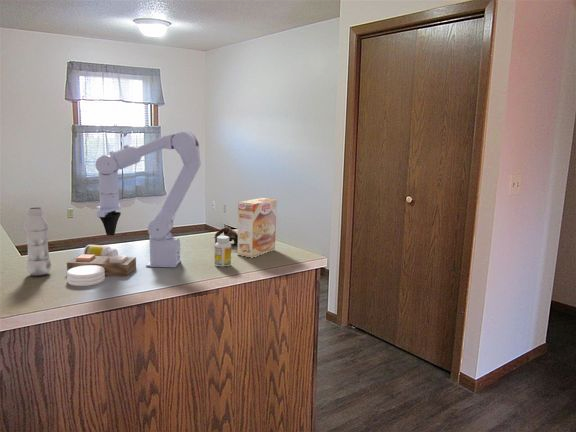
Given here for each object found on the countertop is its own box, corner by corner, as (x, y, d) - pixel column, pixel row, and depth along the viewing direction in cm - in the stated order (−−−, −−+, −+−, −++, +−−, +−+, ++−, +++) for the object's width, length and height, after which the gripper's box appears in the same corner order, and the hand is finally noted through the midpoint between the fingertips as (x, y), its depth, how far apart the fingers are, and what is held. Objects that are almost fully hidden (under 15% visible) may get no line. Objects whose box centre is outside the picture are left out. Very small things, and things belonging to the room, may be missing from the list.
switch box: (136, 268, 146) (135, 257, 146) (127, 276, 138) (126, 264, 138) (79, 266, 146) (78, 255, 146) (67, 273, 138) (66, 262, 138)
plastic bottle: (35, 279, 132) (30, 211, 129) (22, 275, 136) (17, 208, 132) (56, 274, 138) (52, 208, 134) (43, 269, 141) (39, 205, 138)
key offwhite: (127, 265, 144) (127, 255, 143) (122, 269, 140) (122, 259, 139) (114, 264, 144) (114, 255, 143) (109, 268, 140) (109, 259, 139)
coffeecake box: (252, 259, 161) (253, 203, 157) (236, 255, 165) (237, 201, 161) (276, 250, 174) (277, 199, 170) (260, 247, 177) (261, 197, 174)
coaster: (94, 273, 140) (93, 262, 140) (111, 281, 134) (111, 269, 133) (61, 281, 133) (60, 269, 132) (77, 289, 126) (77, 277, 126)
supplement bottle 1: (84, 263, 151) (111, 265, 149) (81, 247, 149) (109, 250, 147) (94, 257, 156) (120, 259, 154) (92, 242, 154) (118, 244, 152)
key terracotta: (95, 264, 144) (95, 254, 143) (90, 267, 140) (89, 258, 139) (82, 263, 144) (82, 254, 143) (76, 267, 140) (76, 257, 139)
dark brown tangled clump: (243, 250, 174) (234, 232, 171) (221, 260, 175) (211, 243, 171) (242, 235, 185) (233, 218, 181) (220, 244, 186) (211, 228, 182)
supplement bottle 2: (214, 267, 149) (214, 238, 148) (214, 263, 155) (214, 235, 153) (231, 267, 150) (231, 238, 149) (230, 262, 156) (230, 235, 154)
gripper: (105, 189, 154) (107, 229, 156) (86, 196, 139) (88, 239, 142) (126, 190, 153) (127, 230, 156) (109, 196, 139) (111, 240, 142)
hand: (110, 235), depth 149 cm, fingers closed
